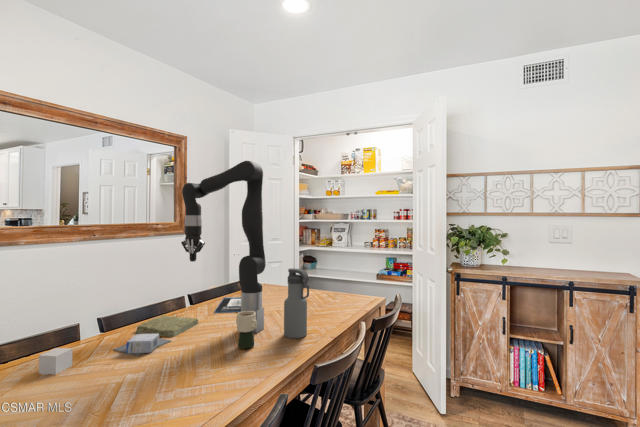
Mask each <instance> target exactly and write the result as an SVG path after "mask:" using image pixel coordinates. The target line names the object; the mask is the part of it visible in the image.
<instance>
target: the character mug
mask: <svg viewBox="0 0 640 427" xmlns="http://www.w3.org/2000/svg"><path fill="white" fill-rule="evenodd" d="M235 323H236V329H237V332H239V334H238V335H239V336H238V341H237V348H240V349H249V348H251V347H254V346H255V337H254V333H253V330H254V329H256V328H257V321H256V313H255V312H254V311H242V312H239V313H236V320H235Z"/></svg>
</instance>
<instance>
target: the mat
mask: <svg viewBox="0 0 640 427" xmlns="http://www.w3.org/2000/svg"><path fill="white" fill-rule="evenodd" d="M171 342H172V340H170V339H167V338H160V337H159V345H158V346H157V347H156V348H159V347H162V346H165V345H166V344H168V343H171ZM126 345H127V343H125V344H123V345H121V346H117V347H114V348H113V351H114V352H119V353H122V354H128V355H132V356H137V357H139V356H140V355H143V354H145V353H127V352H126ZM156 348H155V349H156Z"/></svg>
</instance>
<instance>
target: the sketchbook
mask: <svg viewBox="0 0 640 427" xmlns="http://www.w3.org/2000/svg"><path fill="white" fill-rule="evenodd" d="M234 312H241V296H225V297H223V299H222V300H221V301H220V302H219V304H218V305H217V307H216V309H215V310H214V311H213V314H230V313H231V314H235V313H234Z"/></svg>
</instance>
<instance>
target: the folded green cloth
mask: <svg viewBox="0 0 640 427" xmlns="http://www.w3.org/2000/svg"><path fill="white" fill-rule="evenodd" d="M197 325H199V319H198V318H194V317H185V316H171V315H169V316H168V315H160V316H157V317H155V318H152V319H149V320H147V321H145V322H142V323H141V324H139V325H137V327H136V330H135V333H136V334H159V337H169V338H175V337H177V336H179V335H181V334H182V333H185V332H186V331H188V330H190V329H191V328H193V327H196V326H197Z"/></svg>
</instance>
